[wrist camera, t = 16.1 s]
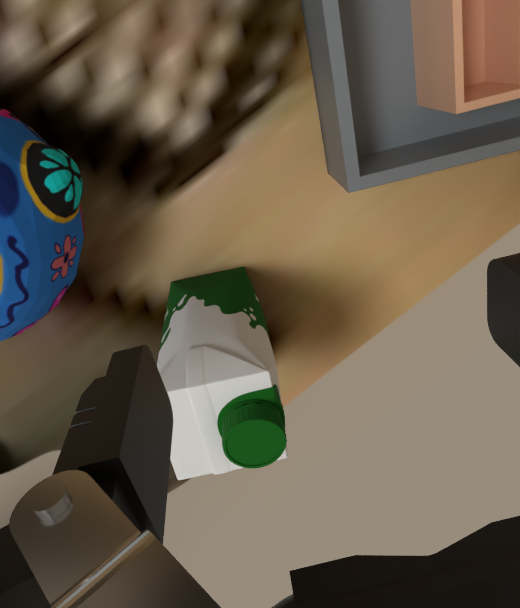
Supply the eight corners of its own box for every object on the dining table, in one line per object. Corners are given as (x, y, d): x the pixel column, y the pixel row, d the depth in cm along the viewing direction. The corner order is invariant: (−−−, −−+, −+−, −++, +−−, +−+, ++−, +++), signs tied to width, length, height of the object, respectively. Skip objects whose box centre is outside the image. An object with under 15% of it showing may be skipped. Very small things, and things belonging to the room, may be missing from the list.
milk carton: (267, 333, 50) (302, 486, 32) (181, 351, 50) (167, 515, 32) (251, 255, 46) (281, 380, 28) (157, 274, 46) (127, 413, 28)
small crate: (407, -39, 36) (450, -59, 29) (487, -59, 35) (547, -84, 29) (417, 105, 40) (456, 114, 34) (488, 87, 40) (540, 92, 34)
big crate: (289, -76, 35) (307, -105, 28) (591, -153, 34) (676, -200, 28) (327, 173, 43) (348, 192, 37) (571, 112, 43) (633, 121, 36)
